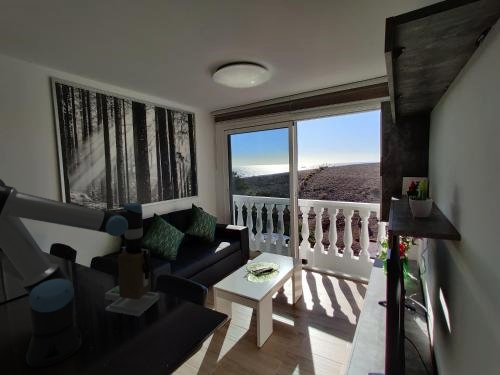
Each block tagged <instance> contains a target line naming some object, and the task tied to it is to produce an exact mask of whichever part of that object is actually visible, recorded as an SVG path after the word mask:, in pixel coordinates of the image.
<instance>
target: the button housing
mask: <svg viewBox="0 0 500 375" xmlns="http://www.w3.org/2000/svg"><path fill="white" fill-rule="evenodd" d="M118 286H119V285H116V286H115V287H118ZM115 287H113V288H111V289H110V290H108V291H107V292H105V293H104V299H105V300H106V301H111V300H112V302H115V301H116V300H118V299H119V298H121V297H120V294H117V293H114V288H115Z"/></svg>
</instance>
